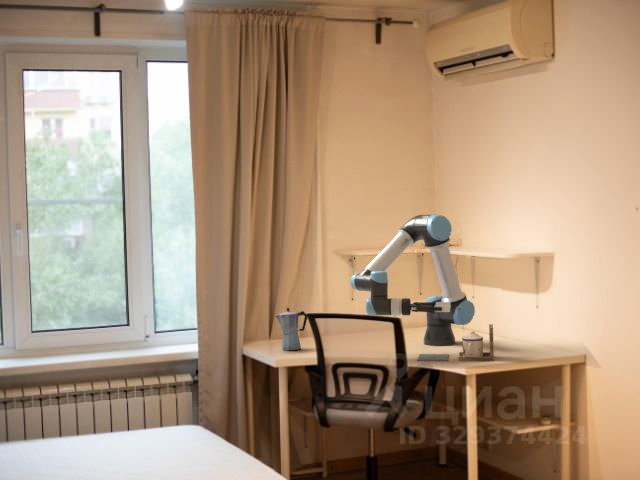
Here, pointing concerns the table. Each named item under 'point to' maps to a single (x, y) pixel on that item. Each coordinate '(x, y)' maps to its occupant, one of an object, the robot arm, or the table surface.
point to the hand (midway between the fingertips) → (450, 307)
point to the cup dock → (483, 352)
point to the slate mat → (433, 357)
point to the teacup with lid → (472, 345)
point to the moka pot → (290, 329)
